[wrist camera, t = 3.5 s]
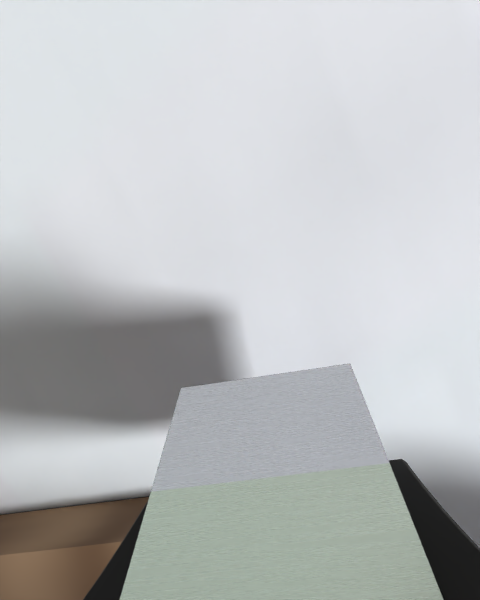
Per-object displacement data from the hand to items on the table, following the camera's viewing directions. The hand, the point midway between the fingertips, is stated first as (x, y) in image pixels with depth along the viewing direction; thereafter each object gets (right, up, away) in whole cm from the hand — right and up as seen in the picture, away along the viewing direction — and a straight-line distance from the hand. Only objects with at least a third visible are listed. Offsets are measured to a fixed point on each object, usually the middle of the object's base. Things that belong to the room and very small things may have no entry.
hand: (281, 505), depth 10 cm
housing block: (0, +1, +2) cm, 2 cm away
